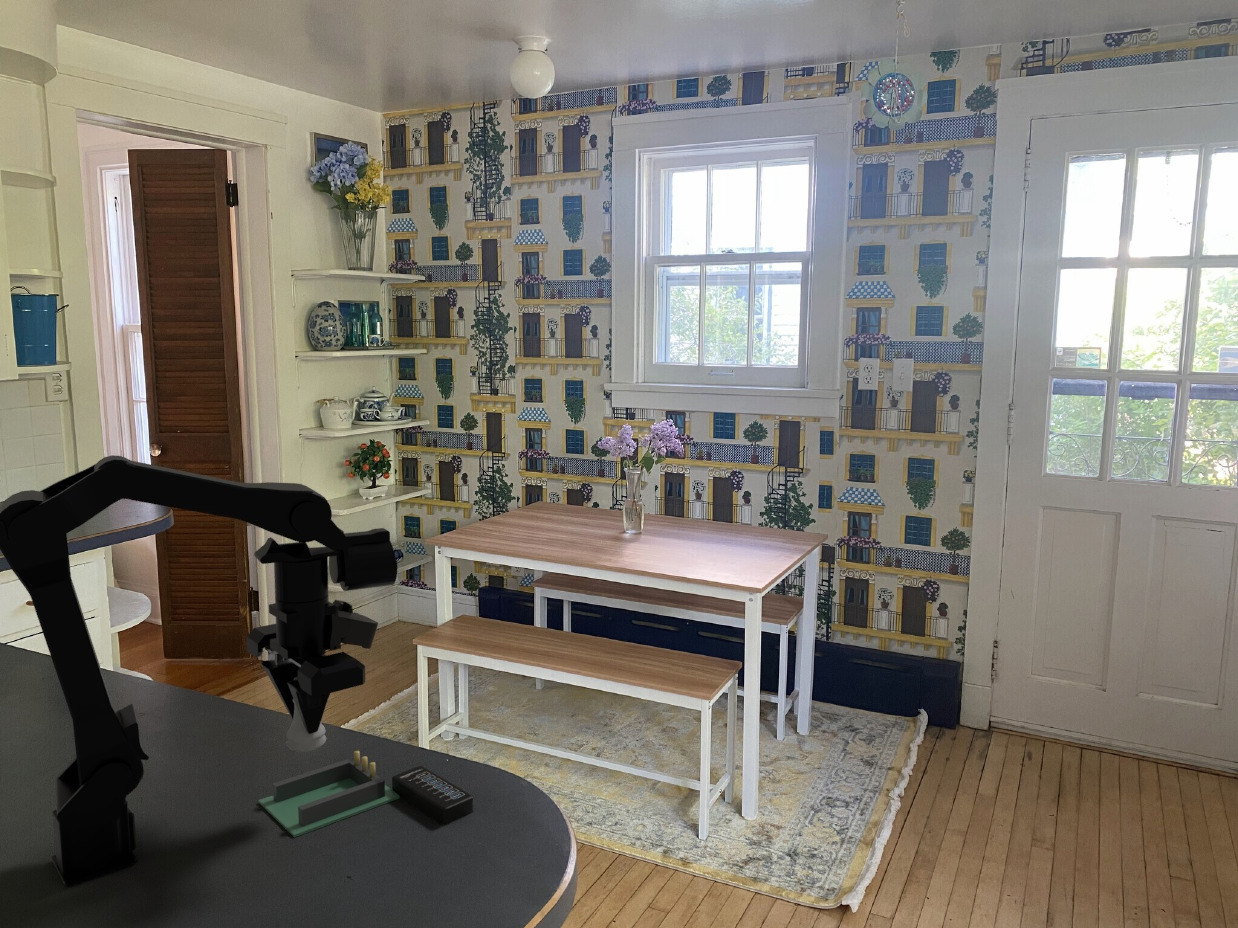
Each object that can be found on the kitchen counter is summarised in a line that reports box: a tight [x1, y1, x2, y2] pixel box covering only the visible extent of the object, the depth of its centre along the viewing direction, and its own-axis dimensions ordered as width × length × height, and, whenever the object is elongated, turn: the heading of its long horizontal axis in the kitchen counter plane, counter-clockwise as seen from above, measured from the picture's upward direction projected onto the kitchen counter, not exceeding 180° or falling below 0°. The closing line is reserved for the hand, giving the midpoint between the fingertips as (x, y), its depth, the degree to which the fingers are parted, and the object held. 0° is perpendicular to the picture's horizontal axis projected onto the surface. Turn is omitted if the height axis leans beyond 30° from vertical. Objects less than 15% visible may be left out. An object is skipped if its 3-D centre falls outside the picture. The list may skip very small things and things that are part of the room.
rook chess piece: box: [285, 677, 327, 753], centre depth 104 cm, size 4×4×8 cm
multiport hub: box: [391, 765, 474, 826], centre depth 108 cm, size 4×11×2 cm, turn 46°
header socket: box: [257, 750, 401, 838], centre depth 107 cm, size 13×10×4 cm
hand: (305, 726), depth 104 cm, fingers closed on rook chess piece, 3 cm apart
